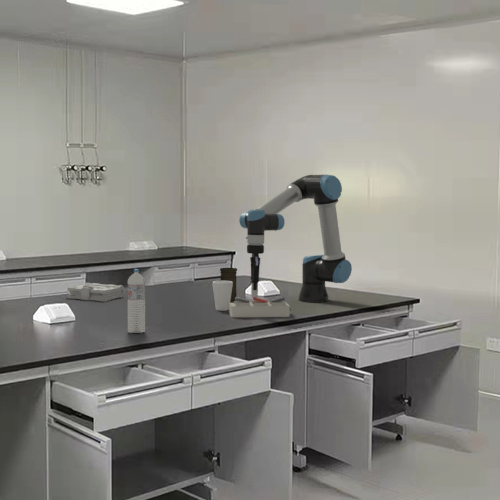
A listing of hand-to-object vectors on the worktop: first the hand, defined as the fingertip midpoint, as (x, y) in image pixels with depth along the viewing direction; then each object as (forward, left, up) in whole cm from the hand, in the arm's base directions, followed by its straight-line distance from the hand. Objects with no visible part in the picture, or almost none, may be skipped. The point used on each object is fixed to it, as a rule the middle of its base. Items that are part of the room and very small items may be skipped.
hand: (254, 296), depth 340 cm
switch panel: (-3, -2, -9) cm, 9 cm away
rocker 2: (-3, 0, -1) cm, 3 cm away
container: (+8, -31, -9) cm, 33 cm away
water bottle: (+51, +34, -9) cm, 62 cm away
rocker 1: (+5, 0, -1) cm, 6 cm away
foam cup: (+12, -19, -9) cm, 24 cm away
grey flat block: (+76, -60, -9) cm, 97 cm away
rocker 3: (-11, 0, -1) cm, 11 cm away
